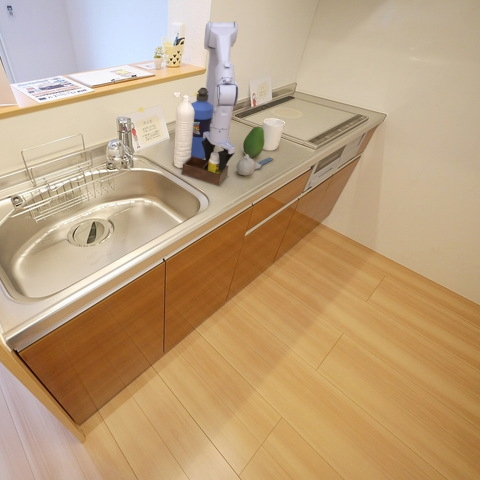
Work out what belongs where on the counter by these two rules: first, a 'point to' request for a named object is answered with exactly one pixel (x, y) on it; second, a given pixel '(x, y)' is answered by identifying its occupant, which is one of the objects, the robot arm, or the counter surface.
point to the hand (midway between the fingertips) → (215, 164)
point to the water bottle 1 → (183, 131)
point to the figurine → (246, 165)
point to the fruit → (254, 142)
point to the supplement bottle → (214, 163)
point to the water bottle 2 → (201, 122)
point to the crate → (202, 171)
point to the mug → (272, 133)
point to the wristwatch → (260, 163)
